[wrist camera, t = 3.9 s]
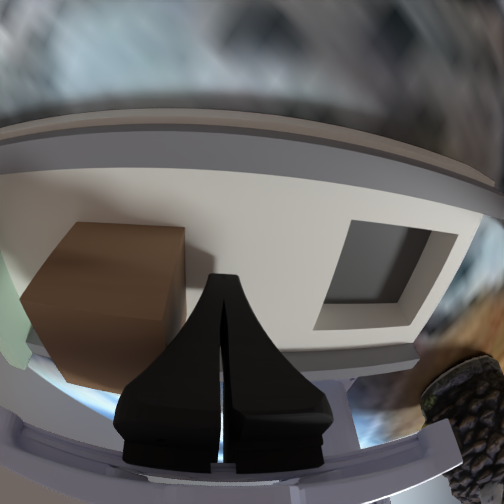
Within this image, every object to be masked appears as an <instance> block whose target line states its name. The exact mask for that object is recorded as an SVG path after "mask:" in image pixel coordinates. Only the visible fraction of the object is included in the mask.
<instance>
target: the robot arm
mask: <svg viewBox="0 0 504 504" xmlns="http://www.w3.org/2000/svg"><path fill="white" fill-rule="evenodd" d="M220 347H221V358H222V369H223V463H217V461H218V451H219V443H220V432H221V405H220ZM357 378H358V377H353V378H343V379H333V380H321V381H309V380H308V379H306V378H305V377H304V376H303V375H302V374H301V373H300V372H299V371H298V370H297V369H296V368H295V367H294V366H293V365H292V364H291V363H290V362H289V361H288V360H287V359H286V358H285V356H284V355H283V354H282V353H281V352H280V351H279V349H278V348H277V347H276V346H275V344H274V343H273V342H272V340H271V339H270V338H269V336H268V335H267V333H266V332H265V330H264V329H263V327H262V326H261V324H260V322H259V321H258V319H257V317H256V316H255V314H254V312H253V310H252V308H251V306H250V304H249V302H248V300H247V298H246V295H245V293H244V291H243V288H242V285H241V282H240V278H239V276H238V275H236V274H219V273H210V274H209V275H208V279H207V282H206V285H205V287H204V290H203V292H202V294H201V296H200V298H199V300H198V302H197V304H196V306H195V308H194V310H193V311H192V313H191V314H190V316H189V318H188V319H187V321H186V322H185V324H184V325H183V327H182V328H181V330H180V331H179V332H178V334H177V335H176V336H175V338H174V339H173V340H172V341H171V343H170V344H169V345H168V346H167V347H166V349H165V350H164V351H163V352H162V353H161V354H160V355H159V356H158V357H157V358H156V359H155V360H154V361H153V362H152V363H151V364H150V365H149V366H148V367H147V368H146V369H145V370H144V371H143V372H142V373H141V374H139V375H138V376H137V377H136V378H135V379H133V380H132V381H131V382H130V383H129V384H127V385H126V386H125V387H124V389H123V391H122V394H121V396H120V398H119V401H118V404H117V406H116V410H115V416H114V421H113V425H114V428H115V429H116V430H117V432H118V433H119V434H120V435H121V436H122V438H123V439H124V440H125V441H124V448H123V452H120V451H115V450H111V449H106V448H102V447H98V446H94V445H90V444H87V443H83V442H80V441H76V440H73V439H70V438H67V437H63V436H60V435H58V434H54V433H52V432H49V431H46V430H43V429H41V428H38V427H35V426H33V425H31V424H28V423H26V422H23V420H22V419H21V418H20V417H19V416H18V415H16V414H15V413H13V412H12V411H10V410H8V409H6V408H3V407H1V406H0V465H2V466H4V467H6V468H7V469H9V470H11V471H13V472H15V473H17V474H18V475H21V476H22V477H24V478H26V479H29V480H31V481H33V482H35V483H37V484H39V485H41V486H44V487H46V488H48V489H51V490H53V491H56V492H58V493H61V494H63V495H66V496H69V497H71V498H74V499H77V500H80V501H83V502H86V503H89V504H391V501H390V496H393V495H395V494H398V493H401V492H403V491H406V490H408V489H411V488H413V487H415V486H418V485H420V484H422V483H424V482H427V481H429V480H431V479H433V478H435V477H437V476H439V475H441V474H443V473H445V472H447V471H449V470H451V469H453V468H455V467H457V466H459V465H460V464H462V463H463V459H462V456H461V453H460V450H459V447H458V444H457V442H456V439H455V436H454V433H453V431H452V428H451V425H450V423H449V420H448V419H447V418H446V419H444V420H441V421H438V422H436V423H433V424H430V425H428V426H426V427H425V428H423V429H422V430H420V431H419V432H418V433H417V434H415V435H412V436H409V437H406V438H402V439H399V440H395V441H392V442H388V443H385V444H381V445H377V446H373V447H369V448H365V449H360V445H359V441H358V437H357V433H356V429H355V425H354V421H353V418H352V414H351V410H350V406H349V403H348V399H347V395H346V392H347V391H348V390H349V388H350V387H351V386H352V384H353V383H354V382H355V380H356V379H357ZM135 473H137V474H135ZM139 474H143V475H149V476H156V477H163V478H171V479H180V480H192V481H209V482H210V481H211V482H255V481H272V480H279V482H277V483H273V485H262V486H202V485H184V484H164V483H153V482H150V481H149V480H148V478H147V477H146V476H143V475H139Z"/></svg>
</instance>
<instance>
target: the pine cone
mask: <svg viewBox="0 0 504 504" xmlns="http://www.w3.org/2000/svg"><path fill="white" fill-rule="evenodd" d="M420 404H421V410H422V413H423V416H424V417H425V420H426V421H425V423H424V425H423V426H422V428H421V429H423V428H425V427H426V426H428V425H430V424H433V423H436V422H438V421H441V420H444V419H446V418H447V419H448V420H449V423H450V425H451V428H452V431H453V433H454V436H455V439H456V442H457V444H458V447H459V450H460V453H461V456H462V459H463V463H462V464H460V465H459V466H457V467H455V468H453V469H451V470H449V471H447V472H445V473H443V474H442V475H443V476H445V477H447V478H448V480H449V483H450V484H449V486H450V487H451V491H452V495H454V496H455V497H456V498H457V499H458V500H460V501H461V503H463V504H504V375H503V373H502V370H501V367H500V365H499V363H498V361H497V360H496V359H494V358H490V357H489V356H487V355H484V356H480V357H479V358H478V357H477V358H475V357H474V358H472V359H470V360H466V361H465V362H463V363H461V364H459V365H457V366H455V367H453V368H451V369H450V370H448V371H447V372H445V373H444V374H442V375H441V376H440V377H439V378H438V379H436V380H435V381H434V382H433V383H431V384H430V386H429V387H427V389H426V390H425V391H424V393H423V394H422V395H421V401H420Z"/></svg>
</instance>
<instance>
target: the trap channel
mask: <svg viewBox="0 0 504 504" xmlns="http://www.w3.org/2000/svg"><path fill="white" fill-rule="evenodd" d="M494 185H495V182H494V181H493V180H491V179H490V178H488V177H487V176H485V175H483V174H482V173H480V172H479V171H477V170H475V169H474V168H472V167H470V166H469V165H466V164H464V163H461V162H459V161H456V160H453V159H451V158H448V157H445V156H443V155H440V154H437V153H434V152H431V151H429V150H426V149H423V148H420V147H416V146H413V145H410V144H407V143H404V142H400V141H397V140H393V139H390V138H386V137H382V136H379V135H375V134H371V133H367V132H363V131H359V130H355V129H350V128H346V127H341V126H336V125H331V124H326V123H321V122H316V121H310V120H304V119H298V118H292V117H285V116H278V115H270V114H261V113H252V112H242V111H230V110H215V109H192V108H144V109H122V110H107V111H96V112H86V113H78V114H70V115H63V116H56V117H50V118H44V119H38V120H33V121H28V122H23V123H19V124H14V125H10V126H6V127H2V128H0V352H1V353H2V355H3V356H4V357H5V359H6V360H7V361H8V363H9V364H10V365H12V366H14V367H17V368H20V369H23V370H25V369H26V367H27V364H28V362H29V360H30V357H31V355H32V353H34V354H37V355H41V356H45V357H48V358H51V357H50V356H49V354H48V352H47V351H46V349H45V347H44V346H43V344H42V342H41V341H40V339H39V337H38V335H37V333H36V332H35V330H34V328H33V326H32V324H31V322H30V320H29V318H28V317H27V315H26V313H25V311H24V309H23V306H22V304H21V302H20V300H19V298H20V297H21V295H22V294H23V292H24V291H25V289H26V288H27V286H28V285H29V283H30V282H31V280H32V279H33V277H34V276H35V275H36V273H37V272H38V270H39V269H40V268H41V266H42V265H43V263H44V262H45V261H46V259H47V258H48V257H49V255H50V254H51V253H52V251H53V250H54V249H55V248H56V246H57V245H58V244H59V243H60V241H61V240H62V239H63V238H64V236H65V235H66V234H67V233H68V231H69V230H70V229H71V228H72V227H73V225H74V224H75V223H76V222H97V223H117V224H137V225H154V226H171V227H185V274H186V304H187V317H186V321H187V319H188V318H189V316H190V314H191V313H192V311H193V310H194V308H195V306H196V304H197V302H198V300H199V298H200V296H201V294H202V292H203V290H204V287H205V285H206V282H207V279H208V275H209V274H210V273H219V274H236V275H238V276H239V278H240V282H241V285H242V288H243V291H244V293H245V295H246V298H247V300H248V302H249V304H250V306H251V308H252V310H253V312H254V314H255V316H256V317H257V319H258V321H259V322H260V324H261V326H262V327H263V329H264V330H265V332H266V333H267V335H268V336H269V338H270V339H271V340H272V342H273V343H274V344H275V346H276V347H277V348H278V349H279V351H280V352H281V353H282V354H283V355H284V356H285V358H286V359H287V360H288V361H289V362H290V363H291V364H292V365H293V366H294V367H295V368H296V369H297V370H298V371H299V372H300V373H301V374H302V375H303V376H304V377H305V378H306V379H308V380H309V381H321V380H333V379H343V378H353V377H361V376H369V375H376V374H383V373H390V372H396V371H402V370H407V369H412V368H413V367H414V366H415V365H416V363H417V362H418V361H419V360H420V357H419V355H418V353H417V351H416V349H415V347H414V345H413V342H414V340H415V339H416V337H417V336H418V334H419V333H420V331H421V330H422V329H423V327H424V326H425V324H426V323H427V321H428V319H429V318H430V316H431V315H432V313H433V312H434V310H435V308H436V307H437V305H438V304H439V302H440V300H441V299H442V297H443V295H444V294H445V292H446V290H447V288H448V287H449V285H450V283H451V281H452V279H453V278H454V276H455V274H456V272H457V270H458V268H459V266H460V264H461V262H462V261H463V259H464V257H465V255H466V252H467V250H468V248H469V246H470V244H471V242H472V240H473V238H474V235H475V233H476V231H477V229H478V226H479V224H480V222H481V219H482V217H483V214H485V215H488V216H492V217H495V218H499V219H502V220H503V219H504V194H503V193H501V192H500V191H499V190H497V189H496V188H494ZM220 382H223V369H222V358H221V347H220Z"/></svg>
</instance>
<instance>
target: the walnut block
mask: <svg viewBox="0 0 504 504" xmlns="http://www.w3.org/2000/svg"><path fill="white" fill-rule="evenodd" d="M19 300H20V302H21V304H22V306H23V309H24V311H25V313H26V315H27V317H28V318H29V320H30V322H31V324H32V326H33V328H34V330H35V332H36V333H37V335H38V337H39V339H40V341H41V342H42V344H43V346H44V347H45V349H46V351H47V352H48V354H49V356H50V357H51V359H52V360H53V362H54V364H55V365H56V367H57V368H58V370H59V371H60V373H61V374H62V376H63V377H64V379H65V380H66V382H67V383H71V384H75V385H79V386H83V387H88V388H92V389H97V390H102V391H106V392H112V393H117V394H122V391H123V389H124V387H125V386H126V385H127V384H129V383H130V382H131V381H132V380H133V379H135V378H136V377H137V376H138V375H139V374H141V373H142V372H143V371H144V370H145V369H146V368H147V367H148V366H149V365H150V364H151V363H152V362H153V361H154V360H155V359H156V358H157V357H158V356H159V355H160V354H161V353H162V352H163V351H164V350H165V349H166V347H167V346H168V345H169V344H170V343H171V341H172V340H173V339H174V338H175V336H176V335H177V334H178V332H179V331H180V330H181V328H182V327H183V325H184V324H185V322H186V317H187V304H186V274H185V227H171V226H154V225H137V224H117V223H97V222H76V223H75V224H74V225H73V227H72V228H71V229H70V230H69V231H68V233H67V234H66V235H65V236H64V238H63V239H62V240H61V241H60V243H59V244H58V245H57V246H56V248H55V249H54V250H53V251H52V253H51V254H50V255H49V257H48V258H47V259H46V261H45V262H44V263H43V265H42V266H41V268H40V269H39V270H38V272H37V273H36V275H35V276H34V277H33V279H32V280H31V282H30V283H29V285H28V286H27V288H26V289H25V291H24V292H23V294H22V295H21V297H20V298H19Z"/></svg>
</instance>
